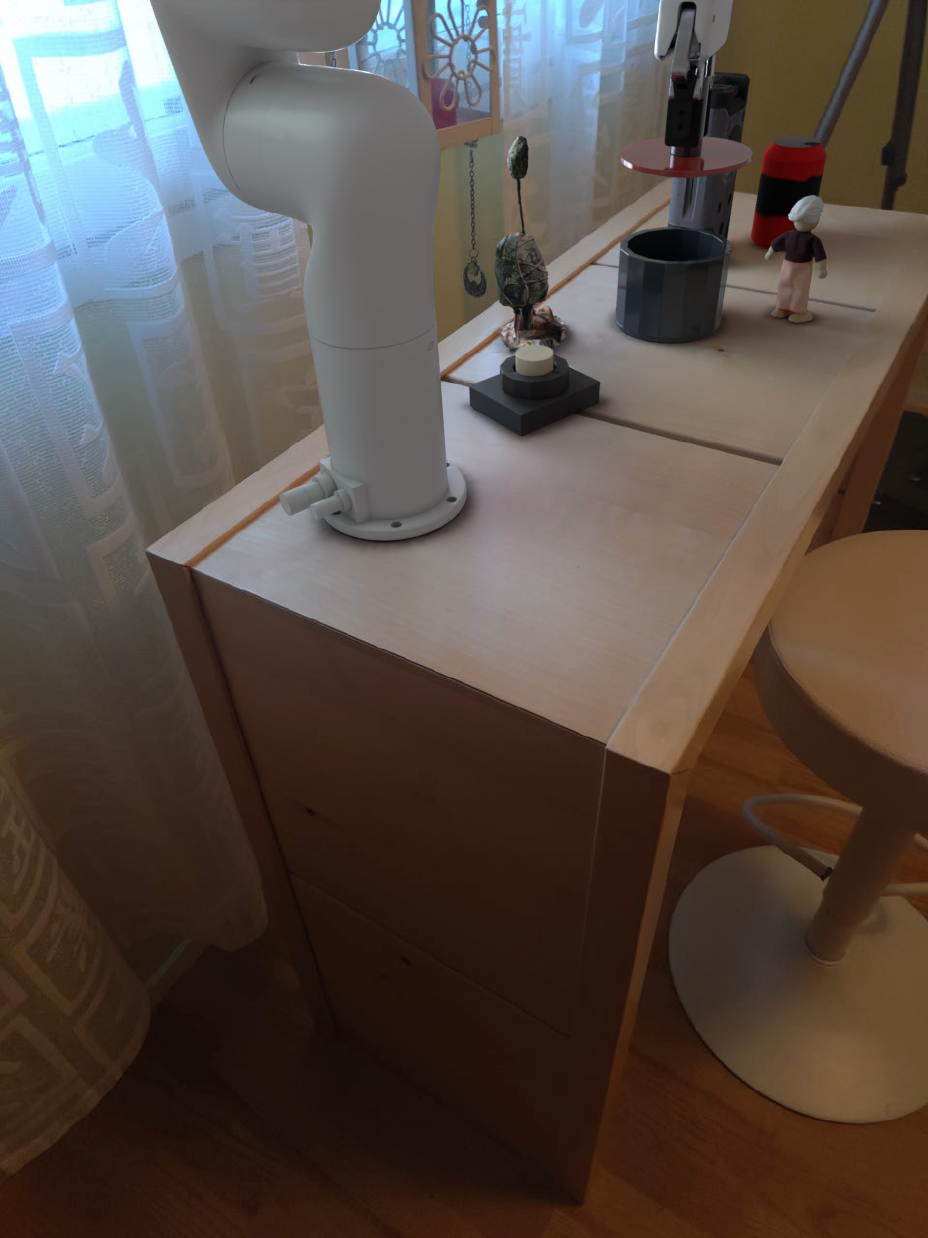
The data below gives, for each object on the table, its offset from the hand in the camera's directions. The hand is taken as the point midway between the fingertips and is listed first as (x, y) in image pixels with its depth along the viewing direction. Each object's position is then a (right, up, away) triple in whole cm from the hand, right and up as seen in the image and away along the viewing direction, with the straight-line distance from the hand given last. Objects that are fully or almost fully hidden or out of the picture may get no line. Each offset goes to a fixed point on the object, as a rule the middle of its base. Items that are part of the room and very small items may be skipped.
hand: (686, 138), depth 86 cm
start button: (-15, -22, -1) cm, 27 cm away
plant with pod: (-14, -16, +13) cm, 25 cm away
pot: (+2, -13, +15) cm, 20 cm away
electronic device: (+9, +1, +30) cm, 32 cm away
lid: (0, -1, +1) cm, 2 cm away
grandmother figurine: (+15, -12, +15) cm, 25 cm away
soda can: (+21, +4, +33) cm, 39 cm away
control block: (-15, -25, +2) cm, 29 cm away
